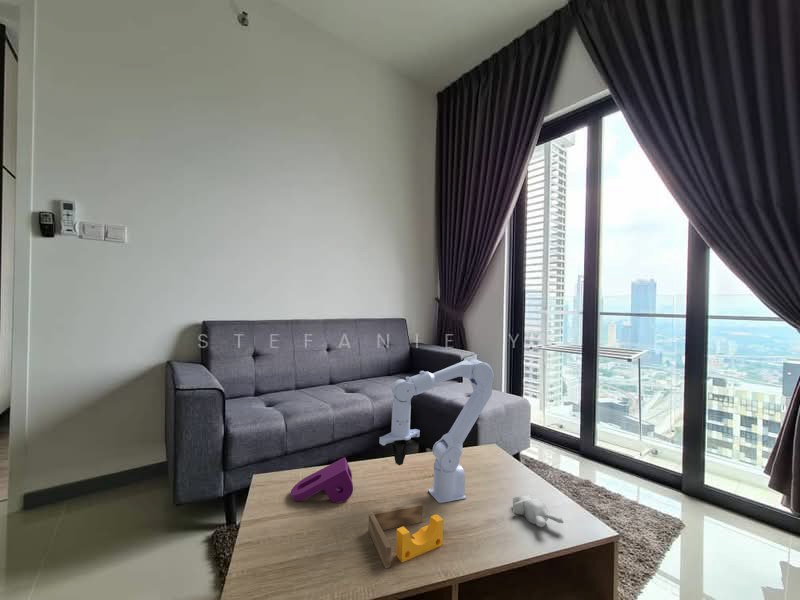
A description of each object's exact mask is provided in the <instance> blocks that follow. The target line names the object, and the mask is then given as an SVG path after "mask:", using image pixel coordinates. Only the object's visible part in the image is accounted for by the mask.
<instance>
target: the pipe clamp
mask: <svg viewBox="0 0 800 600" xmlns="http://www.w3.org/2000/svg"><path fill="white" fill-rule="evenodd" d="M428 523H429V524H427V525H425V526H422V527H421V528H419V530H418V531H416V532H415V533H413V534H410V533H411V532H410V531H409V530H408V529H407V528H406V527H405V526H400V527H399V528H398V527H397V528H396V537H395V539H396V540H395V541H396V543H395V545H396V547H395V549H396V550H395V556H396V557H397V559H398V560H399V561H400V562H401V563H405V562H406V561H409V560H412V559H413V558H416V557H419V556H422V555H423V554H425V553H428V552H430V551H433V550H435V549H437V548H439V547H442V546H444V545H443V542H444V541H443V540H444V539H443V537H444V519H443V518H442V517H441V516H440V515H438V514H433V515H431V516H430V520H429V522H428Z"/></svg>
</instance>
